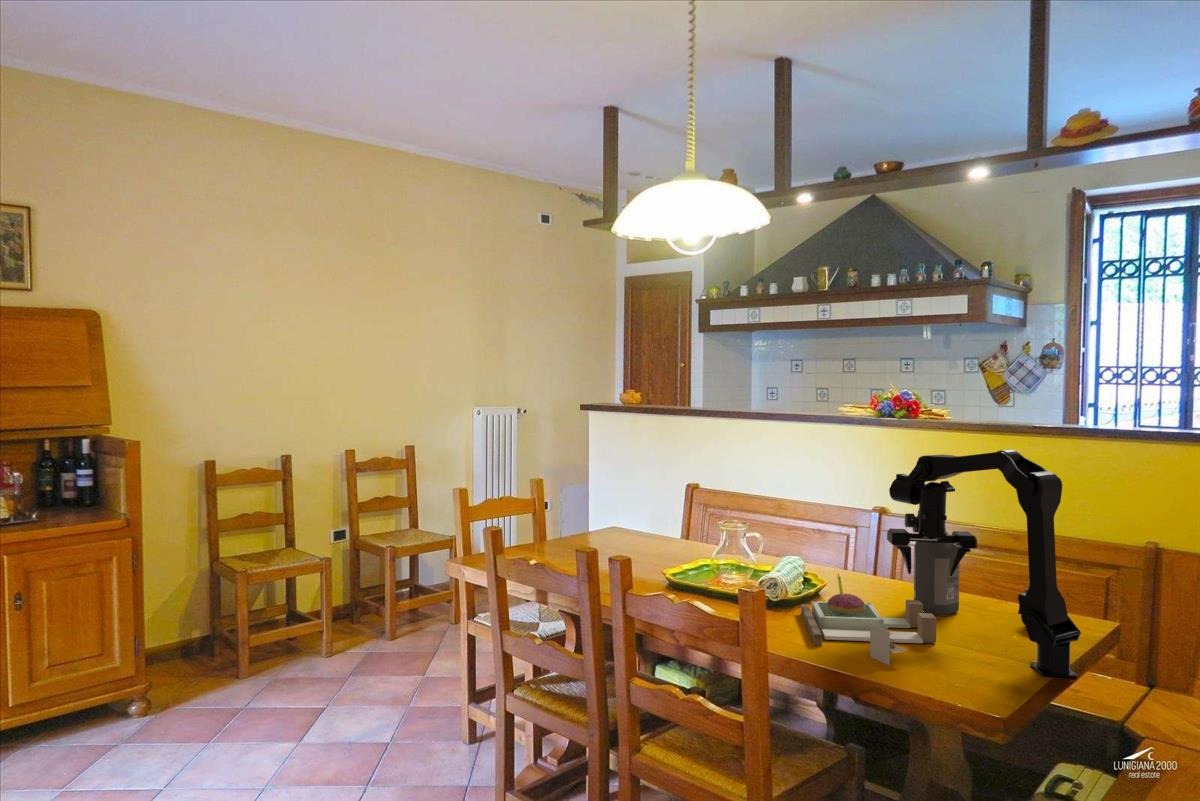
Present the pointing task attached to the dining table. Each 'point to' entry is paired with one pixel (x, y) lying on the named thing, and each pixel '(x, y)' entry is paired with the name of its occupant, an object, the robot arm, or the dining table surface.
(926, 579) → the liquor
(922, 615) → the cream lane
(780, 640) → the dining table surface
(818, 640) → the walnut back rail
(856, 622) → the tray
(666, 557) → the dining table surface
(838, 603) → the cupcake
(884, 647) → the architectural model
